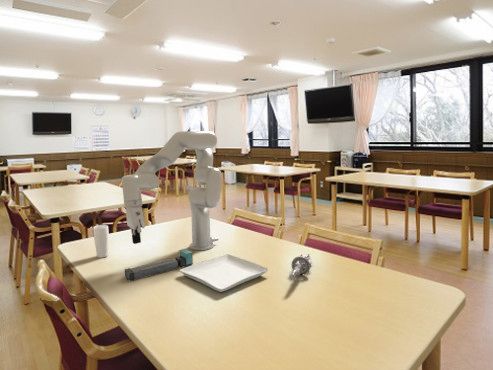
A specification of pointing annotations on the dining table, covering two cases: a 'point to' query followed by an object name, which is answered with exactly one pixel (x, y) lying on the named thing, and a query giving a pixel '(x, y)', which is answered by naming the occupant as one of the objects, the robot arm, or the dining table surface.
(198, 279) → the square plate
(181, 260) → the tongs frame
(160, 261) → the bar
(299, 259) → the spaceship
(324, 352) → the dining table surface
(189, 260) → the teal rectangular block
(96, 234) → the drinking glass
